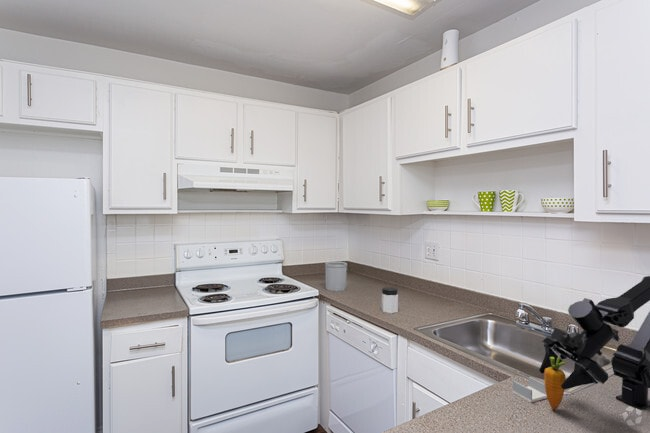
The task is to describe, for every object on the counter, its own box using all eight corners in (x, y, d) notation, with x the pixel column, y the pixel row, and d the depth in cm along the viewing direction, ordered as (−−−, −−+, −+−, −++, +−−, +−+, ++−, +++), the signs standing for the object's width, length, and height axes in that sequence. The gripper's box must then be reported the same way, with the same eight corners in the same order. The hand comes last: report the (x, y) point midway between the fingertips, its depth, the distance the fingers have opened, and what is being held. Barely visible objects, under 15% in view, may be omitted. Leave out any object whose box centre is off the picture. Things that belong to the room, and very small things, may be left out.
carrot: (556, 404, 103) (558, 352, 103) (568, 414, 98) (570, 359, 98) (539, 405, 103) (540, 352, 102) (550, 415, 98) (552, 359, 97)
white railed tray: (530, 388, 112) (530, 377, 112) (548, 397, 107) (548, 386, 107) (512, 392, 110) (512, 381, 109) (530, 402, 104) (530, 390, 104)
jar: (380, 308, 199) (380, 286, 199) (395, 308, 200) (395, 286, 199) (383, 313, 190) (383, 290, 190) (399, 313, 191) (399, 290, 190)
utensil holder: (349, 290, 242) (350, 264, 241) (328, 291, 237) (328, 265, 237) (342, 286, 256) (343, 261, 255) (322, 287, 252) (322, 261, 251)
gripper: (549, 309, 109) (512, 346, 109) (598, 330, 91) (553, 374, 90) (574, 336, 110) (537, 372, 109) (628, 362, 91) (583, 406, 91)
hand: (550, 379), depth 100 cm, fingers open, 9 cm apart
